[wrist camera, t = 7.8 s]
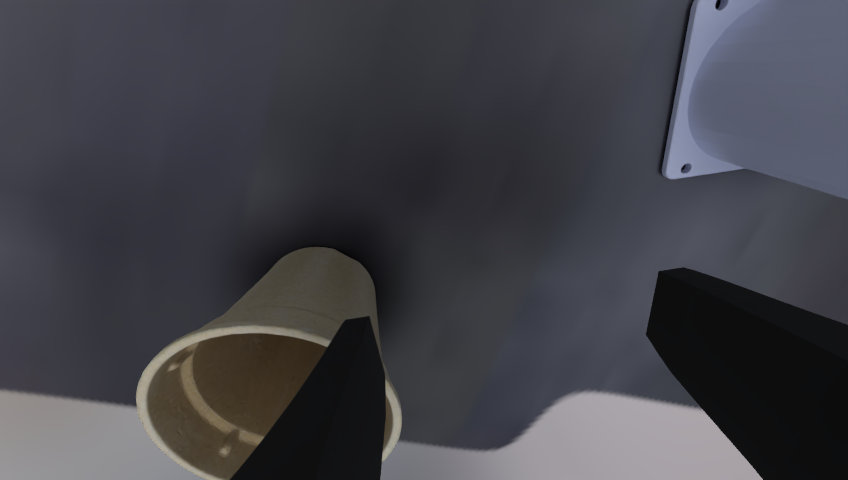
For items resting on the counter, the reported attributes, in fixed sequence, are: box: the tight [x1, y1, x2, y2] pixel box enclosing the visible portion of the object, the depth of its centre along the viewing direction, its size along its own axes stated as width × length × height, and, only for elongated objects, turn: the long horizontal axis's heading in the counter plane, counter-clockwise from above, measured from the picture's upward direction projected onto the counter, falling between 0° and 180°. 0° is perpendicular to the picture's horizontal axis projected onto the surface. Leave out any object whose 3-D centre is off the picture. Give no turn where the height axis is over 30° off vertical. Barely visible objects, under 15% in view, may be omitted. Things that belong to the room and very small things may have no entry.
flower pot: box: [136, 247, 402, 480], centre depth 17 cm, size 9×9×9 cm
